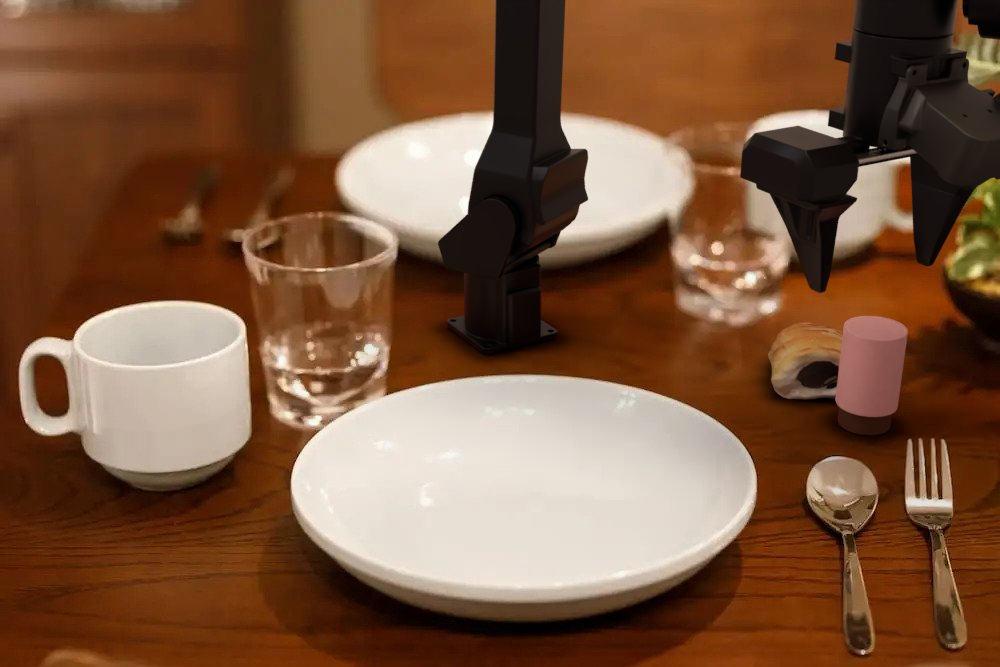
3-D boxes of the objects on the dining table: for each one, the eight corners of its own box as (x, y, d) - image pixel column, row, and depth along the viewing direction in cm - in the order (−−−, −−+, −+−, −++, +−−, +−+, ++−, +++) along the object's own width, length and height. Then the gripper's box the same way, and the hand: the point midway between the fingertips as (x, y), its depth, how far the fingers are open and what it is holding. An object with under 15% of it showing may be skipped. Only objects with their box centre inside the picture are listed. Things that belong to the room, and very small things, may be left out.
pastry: (762, 345, 98) (767, 298, 97) (854, 350, 98) (860, 303, 96) (770, 401, 90) (775, 350, 88) (870, 407, 89) (877, 356, 88)
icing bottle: (820, 418, 88) (830, 322, 85) (864, 405, 89) (876, 311, 87) (862, 443, 84) (875, 345, 82) (907, 429, 86) (921, 332, 83)
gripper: (886, 74, 66) (852, 354, 72) (1126, 37, 74) (1077, 291, 81) (744, 36, 75) (725, 289, 81) (973, 7, 83) (940, 238, 90)
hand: (872, 277), depth 83 cm, fingers open, 9 cm apart
